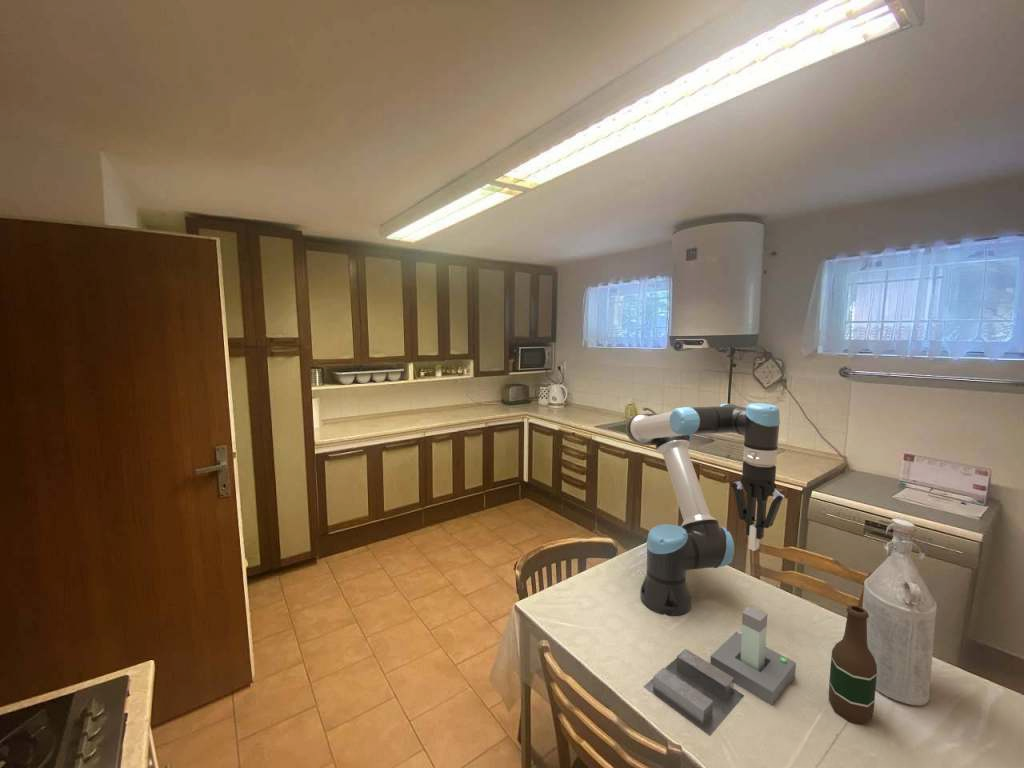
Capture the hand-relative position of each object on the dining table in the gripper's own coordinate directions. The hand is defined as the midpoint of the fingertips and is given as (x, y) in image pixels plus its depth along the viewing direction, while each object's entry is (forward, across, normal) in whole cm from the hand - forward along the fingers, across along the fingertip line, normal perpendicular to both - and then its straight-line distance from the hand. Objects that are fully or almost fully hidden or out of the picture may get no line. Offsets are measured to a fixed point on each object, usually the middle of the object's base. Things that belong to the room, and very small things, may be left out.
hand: (753, 548), depth 112 cm
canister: (+27, +27, +14) cm, 40 cm away
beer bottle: (+27, +24, -4) cm, 36 cm away
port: (+27, +6, -11) cm, 30 cm away
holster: (+27, +1, -29) cm, 39 cm away
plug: (+27, +6, -11) cm, 30 cm away
